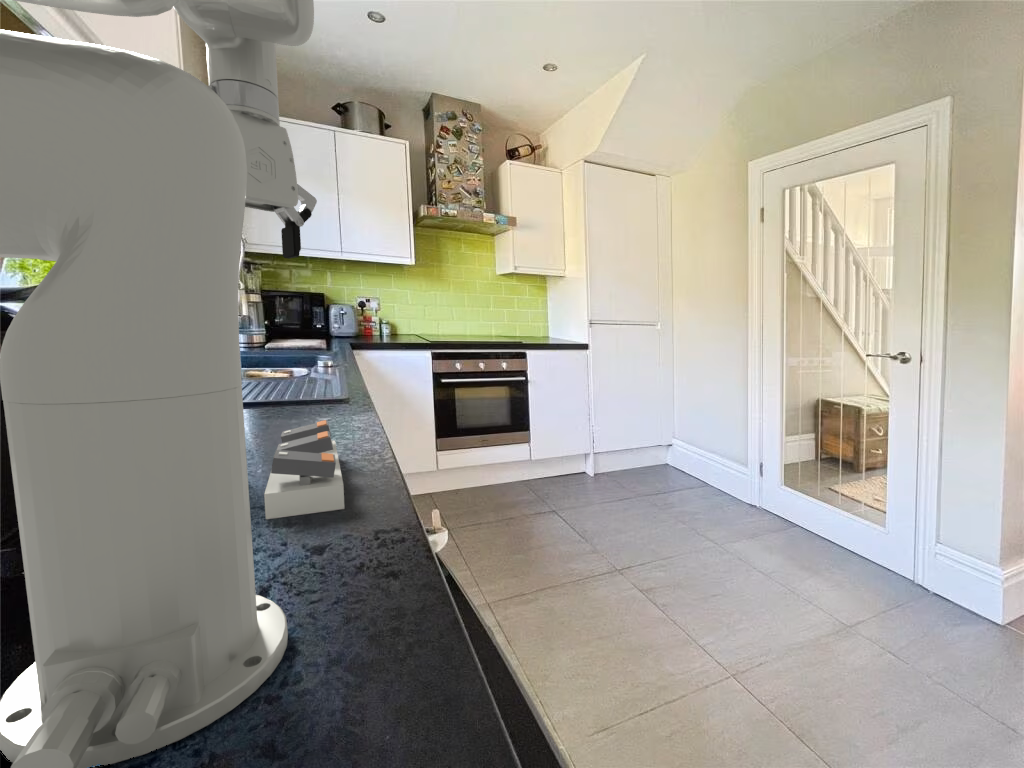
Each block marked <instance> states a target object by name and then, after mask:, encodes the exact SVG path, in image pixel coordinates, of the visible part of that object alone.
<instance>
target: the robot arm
mask: <svg viewBox="0 0 1024 768" xmlns="http://www.w3.org/2000/svg"><path fill="white" fill-rule="evenodd" d="M13 1H15V2H20V3H27V4H32V5H38V6H39V5H40V6H44V7H49V8H50V7H51V8H57V9H63V10H70V11H76V12H83V13H90V14H96V15H97V14H99V15H107V16H112V17H113V16H115V17H132V18H141V17H151V16H152V17H153V16H158V15H161V14H164V13H166V12H169V11H171V10H172V9H173V10H174V11H175V12H176V14H177V15H178V16H179V18H180V19H181V20H182V21H183V22H184V23H185V25H187V26H188V27H189V28H190V29H191V30H192V31H193V32H195V34H196V35H197V36H199V38H200V39H201V40H203V41H204V43H205V47H206V65H207V78H208V79H207V81H208V85H207V84H206V83H205V82H203V81H202V80H201V79H200V78H198V77H196V76H195V75H192V74H191V73H189V72H187V71H186V70H184V69H181V68H180V67H178V66H175V65H173V64H171V63H168V62H166V61H163V60H160V59H157V58H153V57H150V56H148V55H144V54H140V53H137V52H134V51H129V50H125V49H120V48H116V47H111V46H106V45H101V44H95V43H89V42H83V41H75V40H71V39H70V40H69V39H62V38H57V37H52V36H51V37H50V36H45V35H38V34H31V33H24V32H19V31H13V30H12V31H11V30H5V29H0V258H1V259H2V258H5V259H6V258H7V259H35V260H40V261H53V262H55V263H54V264H53V266H52V267H51V269H50V270H49V271H48V273H47V274H46V275H45V276H44V277H43V279H42V280H41V281H40V282H39V284H38V285H37V286H35V287H36V288H35V289H33V291H32V293H31V294H30V295H29V296H28V297H27V299H26V300H25V301H24V303H22V305H21V306H20V308H19V310H18V311H17V313H16V314H15V316H14V317H13V319H12V320H11V322H10V325H8V328H7V330H6V332H5V335H4V337H3V340H2V344H1V346H0V347H1V348H0V390H1V401H3V402H2V403H3V410H4V417H5V425H6V426H5V428H6V435H7V436H6V437H7V443H8V451H9V457H10V467H11V474H12V475H11V476H12V484H13V490H14V491H13V492H14V500H15V507H16V515H17V522H18V523H17V524H18V530H19V532H18V534H19V539H20V547H21V549H20V550H21V556H22V563H23V564H22V565H23V570H24V571H23V572H24V578H25V579H24V581H25V589H26V596H27V604H28V613H29V622H30V630H31V636H32V637H31V638H32V645H33V652H34V660H35V661H34V662H33V664H31V665H30V666H29V667H28V668H26V669H25V670H24V671H23V672H22V673H21V674H20V675H19V676H17V678H16V679H15V680H14V681H13V682H12V683H11V684H10V686H9V687H8V688H7V689H6V691H5V692H4V693H3V694H2V696H1V698H0V750H1V751H2V753H3V754H4V755H5V756H6V758H7V759H8V760H10V761H9V762H11V766H10V768H87V767H91V766H92V765H93V766H96V765H97V764H101V765H104V766H109V765H108V764H110V765H114V764H117V763H120V762H124V761H127V760H130V758H131V759H133V757H134V758H137V757H140V756H143V755H147V754H149V753H151V751H152V752H154V751H156V749H157V750H160V749H161V748H163V747H166V745H167V746H169V745H171V744H173V743H177V742H179V741H181V740H183V739H184V738H186V737H188V736H190V735H192V734H194V733H196V732H198V731H200V730H201V729H204V728H205V727H207V726H210V725H211V724H213V723H214V722H216V721H217V720H219V719H220V718H221V717H223V716H224V715H226V714H228V713H229V712H231V711H233V710H234V709H235V708H237V706H239V705H241V703H242V702H244V701H245V700H246V699H248V698H249V697H250V696H251V695H253V694H254V693H255V692H256V691H257V690H258V689H259V688H260V687H261V685H263V684H264V682H266V681H267V679H268V678H269V677H271V675H272V674H273V673H274V671H275V670H276V668H277V667H278V665H280V662H281V661H282V659H283V657H284V655H285V652H286V649H287V646H288V636H289V632H288V622H287V615H286V614H285V612H284V611H283V609H282V607H280V606H279V605H278V604H277V603H276V602H274V601H273V600H270V599H268V598H266V597H265V596H262V595H257V593H256V577H255V566H254V552H253V551H254V549H253V537H252V535H253V534H252V521H251V519H252V518H251V506H250V489H249V476H248V474H249V473H248V463H247V462H248V461H247V460H248V459H247V446H246V443H247V442H246V431H245V429H246V428H245V415H244V399H243V387H242V386H243V385H242V384H243V382H242V381H243V380H242V363H241V349H240V348H241V347H240V328H239V326H240V325H239V323H240V322H239V277H240V260H241V259H240V257H241V249H242V238H243V237H242V235H243V227H244V218H245V211H246V210H245V209H246V208H247V209H248V208H249V209H255V210H259V211H266V212H271V213H272V212H274V213H275V214H276V215H277V217H278V218H279V219H280V221H281V222H282V223H283V225H284V227H283V228H282V229H281V250H282V251H281V252H282V257H283V258H284V259H294V258H298V257H299V258H300V252H301V251H302V245H301V243H302V242H301V240H302V239H301V227H303V226H304V224H305V223H306V222H307V221H308V220H309V219H310V218H311V217H312V216H313V215H312V213H313V211H314V210H315V207H316V205H317V202H318V201H317V198H316V197H315V196H313V195H312V194H311V193H310V192H309V191H307V190H306V189H305V188H303V186H301V185H299V184H298V181H297V172H296V166H295V158H294V154H293V150H292V149H293V148H292V145H291V141H290V137H289V134H288V130H287V128H285V127H283V126H281V125H280V108H279V106H280V105H279V89H278V88H279V86H278V85H279V84H278V70H277V69H278V67H277V51H276V50H277V49H276V47H277V46H276V44H277V45H282V46H290V47H298V46H302V45H304V44H306V43H307V42H308V41H309V40H310V38H311V36H312V33H313V29H314V25H315V5H314V4H315V3H314V0H13ZM299 201H300V203H301V205H300V207H299V208H300V209H298V211H297V210H296V208H295V207H296V206H298V203H299ZM2 753H1V754H2ZM3 754H2V755H3ZM6 758H5V759H6ZM7 759H6V760H7ZM8 760H7V761H8Z"/></svg>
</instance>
